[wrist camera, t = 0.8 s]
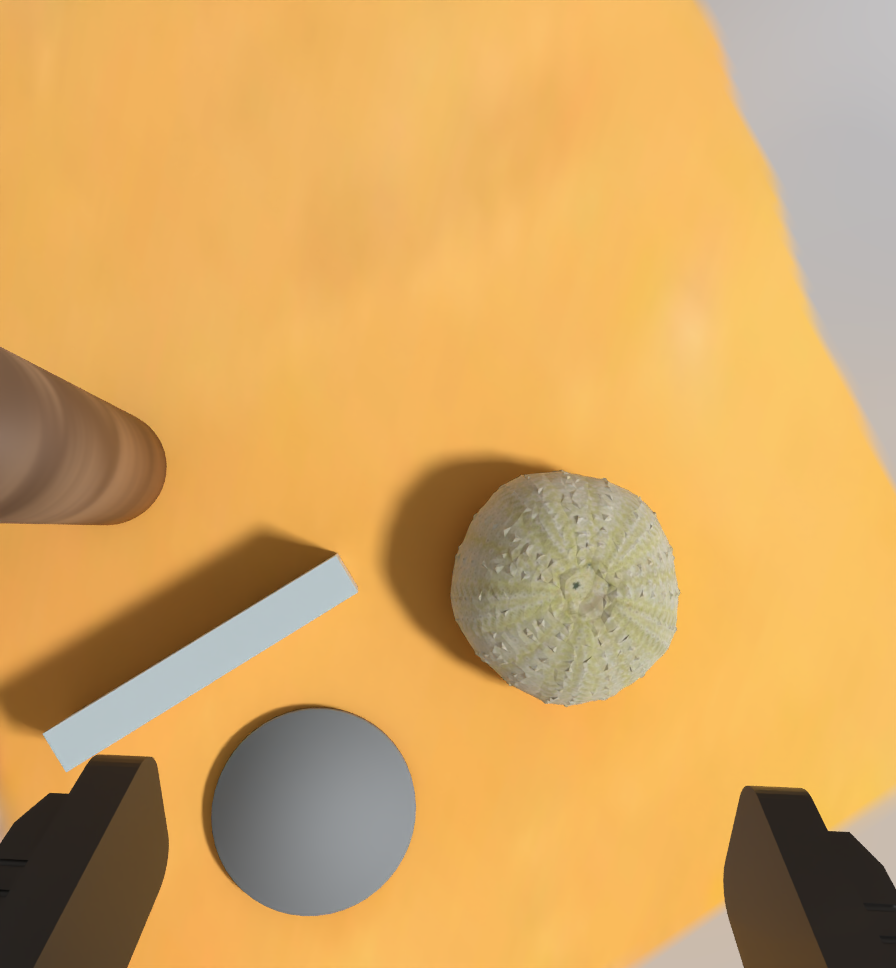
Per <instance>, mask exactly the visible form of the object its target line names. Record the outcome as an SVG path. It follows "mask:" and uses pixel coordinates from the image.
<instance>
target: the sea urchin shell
mask: <svg viewBox="0 0 896 968" xmlns="http://www.w3.org/2000/svg"><path fill="white" fill-rule="evenodd" d="M458 548H459V551H458V553H457V554H456V555H455V564H454V569H453V576H452V585H451V593H450V596H451V604H452V608H453V613H454V617H455V621H456V622H457V623H458V625H459V627H460V629H461V631H462V632H463V634H464V635H465V637H466V638H467V640H468V642H469V643H470V645H471V646H472V648H473V649H474V651H475V655H477V656H479V657H480V658H481V660H482V661H483V662H486V663H487V664H488V665H489V666H490V667H491V668H493V669H494V670H495V671H496V673H498V674H499V675H500V676H501V678H503V680H505V681H506V682H507V683H508V684H509V686H514V687H516V688H518V689H519V690H522V691H524V692H526V693H528V694H530V695H532V696H534V697H536V698H538V699H540V700H541V701H543V702H544V703H545V704H548V703H552V704H558V705H564V706H565V707H568V706H570V705H577V704H582V703H586V702H589V701H597V700H606V699H608V698H609V697H611V696H614V695H616V694H617V693H618V692H619V691H620V690H621V689H623V688H625V687H627V686H629V685H631V684H632V683H633V682H635V681H636V680H637V679H638V678H641V677H643V676H644V675H645V673H646V671H647V670H648V669H650V667H651V666H652V665H653V664H654V663H655V662H656V661H657V660H658V659H659V658H660V657H661V656H662V655H663V654H664V653H665V652H666V651H667V649H668V648H669V645H670V643H671V640H672V638H673V636H674V633H675V632H676V630H677V628H676V621H677V605H678V596H679V594H680V590H679V589H678V584H677V579H676V574H675V566H674V559H675V557H674V556H673V555H672V551H673V548H672V547H671V545H670V544H669V542H668V540H667V538H666V536H665V534H664V532H663V530H662V528H661V525H660V523H659V521H658V519H657V517H656V513H655V512H653V511H652V510H651V509H650V508H649V507H648V506H647V504H646V503H645V502H643V501H642V500H641V498H640V496H639V497H638V496H637V495H635V494H633V493H631V492H630V491H628V490H626V489H623V488H621V487H619V486H617V485H615V484H613V483H610V482H608V481H607V479H606V478H603V479H598V478H593V477H586V476H582V475H577V474H571V473H567V472H565V471H563V470H560V471H557V472H556V471H554V472H548V473H535V474H527V475H520V476H519V477H517V478H515V479H513V480H512V481H510V482H508V483H506V484H503V485H501V486H500V487H499V489H498V490H497V491H496V492H495V493H493V495H492V496H491V497H490V499H489V500H488V501H487V502H486V504H485V505H484V506H483V507H482V508H481V509H480V510H479V512H478V513H476V514H474V515H473V520H472V522H471V523H470V525H469V528H468V531H467V533H466V536H465V538H464V541H463V543H462V544H461V545H460V546H459V547H458Z"/></svg>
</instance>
